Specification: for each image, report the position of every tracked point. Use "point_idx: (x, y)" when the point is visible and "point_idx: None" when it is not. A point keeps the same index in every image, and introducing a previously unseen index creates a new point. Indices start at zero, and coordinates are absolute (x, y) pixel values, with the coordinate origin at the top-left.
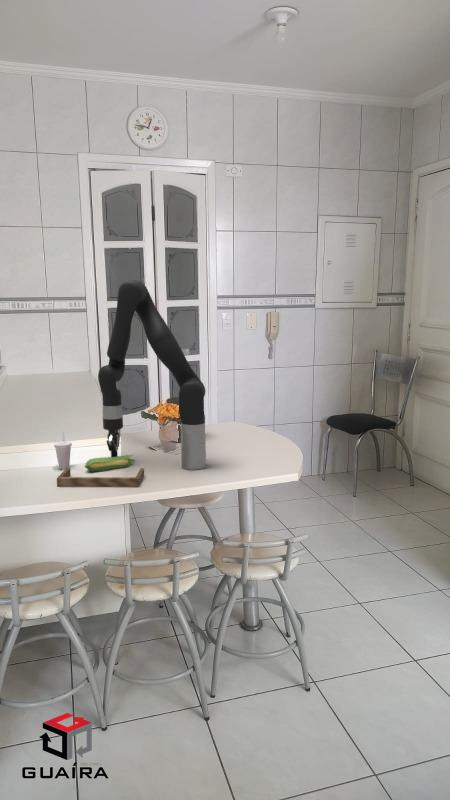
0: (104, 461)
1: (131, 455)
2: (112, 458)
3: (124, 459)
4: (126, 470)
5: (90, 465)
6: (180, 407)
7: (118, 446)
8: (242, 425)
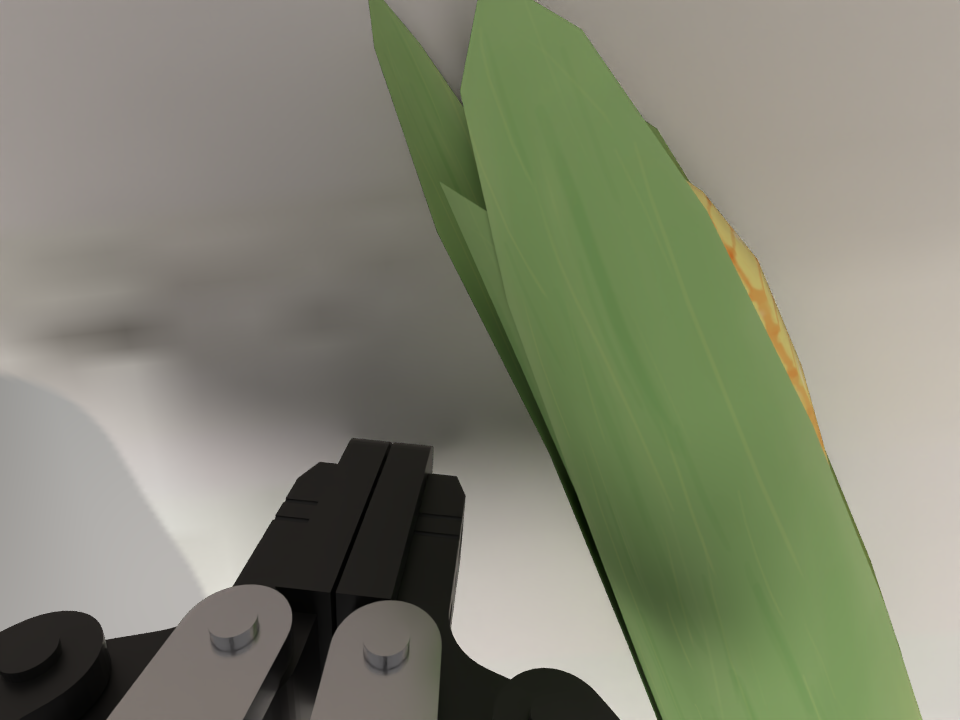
0: (912, 701)
1: (511, 63)
2: (802, 593)
3: (721, 278)
4: (924, 162)
5: None
6: None
7: (73, 642)
8: None
